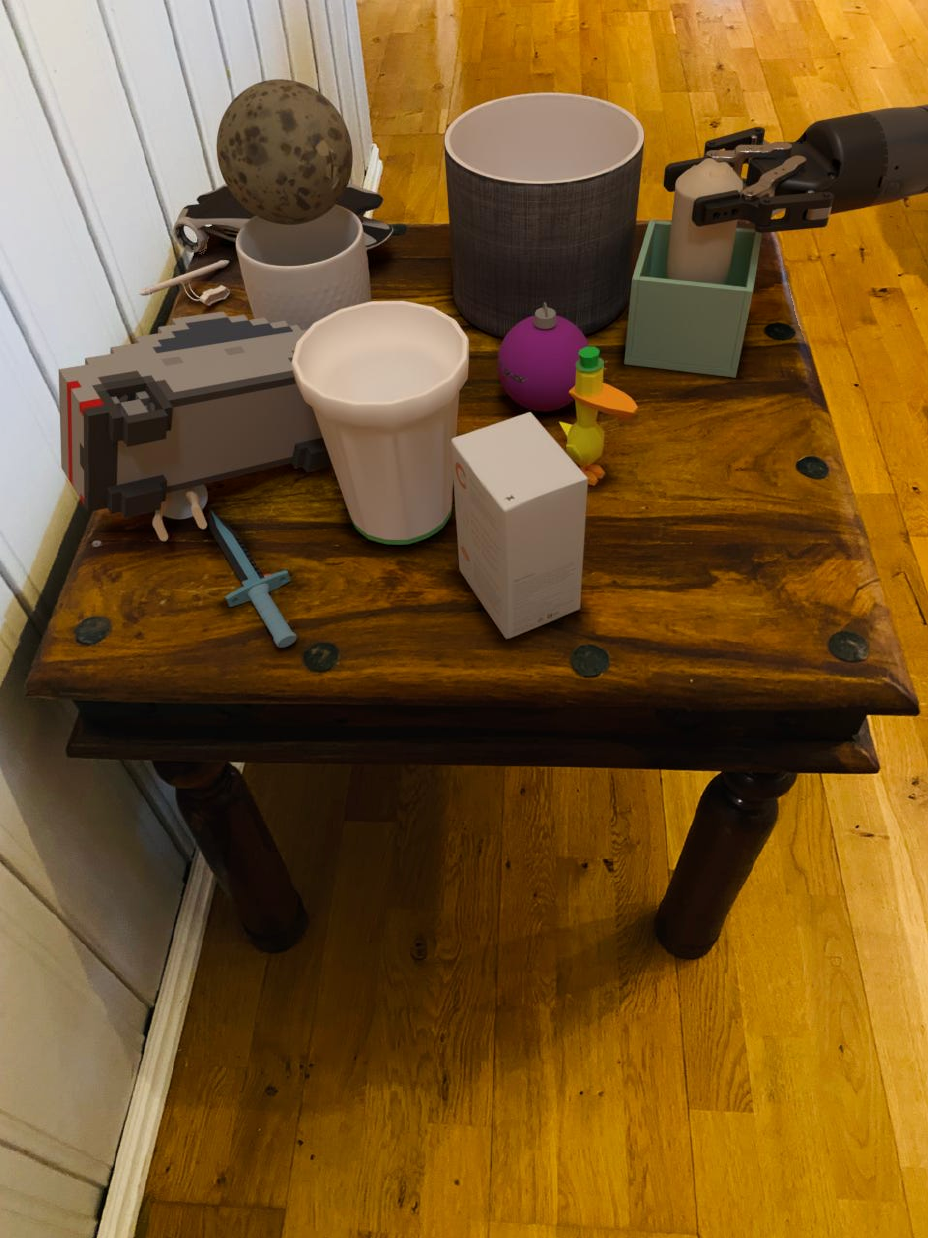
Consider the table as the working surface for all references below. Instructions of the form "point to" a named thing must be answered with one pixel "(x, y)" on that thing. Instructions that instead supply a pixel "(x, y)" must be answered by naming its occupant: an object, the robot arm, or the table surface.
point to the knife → (252, 582)
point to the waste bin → (689, 309)
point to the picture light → (206, 298)
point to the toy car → (185, 412)
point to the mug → (304, 267)
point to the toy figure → (592, 412)
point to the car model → (233, 215)
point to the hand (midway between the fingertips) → (680, 195)
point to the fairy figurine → (182, 508)
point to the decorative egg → (284, 152)
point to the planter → (543, 209)
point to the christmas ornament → (541, 360)
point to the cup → (387, 411)
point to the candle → (702, 247)
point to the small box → (519, 522)
